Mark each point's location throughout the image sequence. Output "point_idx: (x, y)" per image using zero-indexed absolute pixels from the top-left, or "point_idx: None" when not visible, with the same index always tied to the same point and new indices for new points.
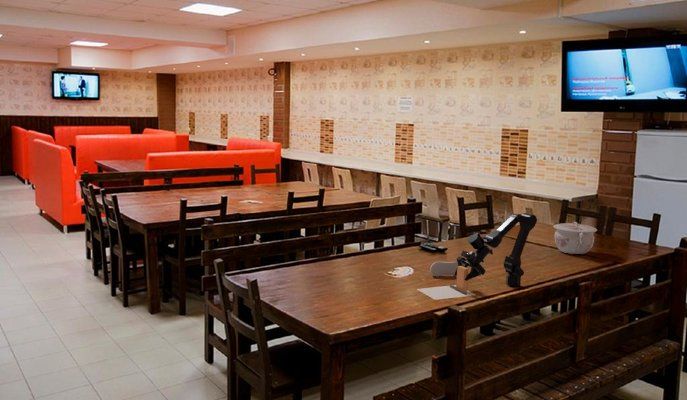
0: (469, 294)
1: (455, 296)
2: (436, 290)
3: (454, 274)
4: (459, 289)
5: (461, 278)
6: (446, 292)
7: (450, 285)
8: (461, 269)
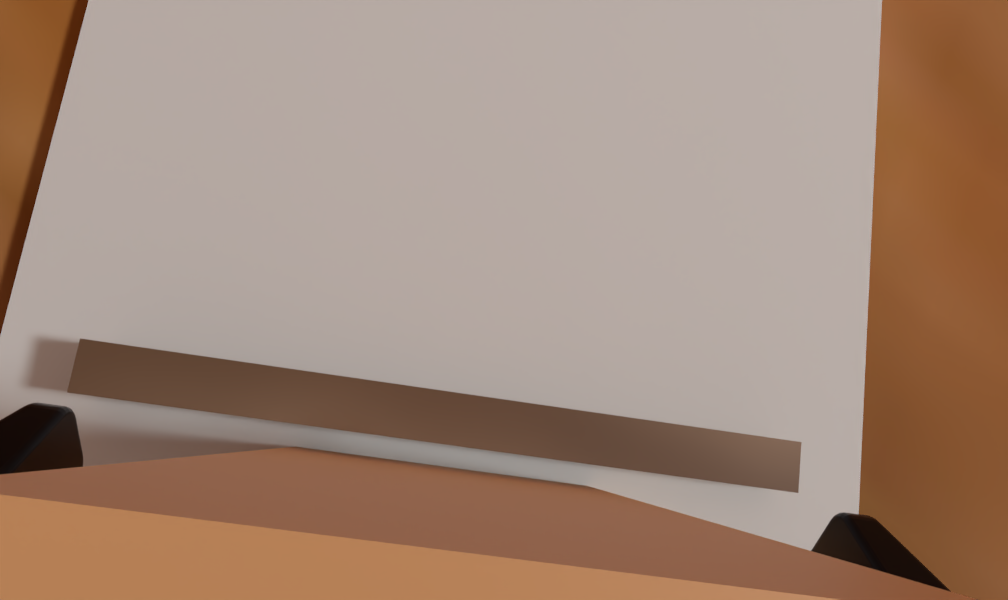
0: None
1: (137, 63)
2: (671, 3)
3: (866, 515)
4: (364, 392)
5: (369, 477)
6: (463, 88)
7: (757, 437)
8: (402, 527)
